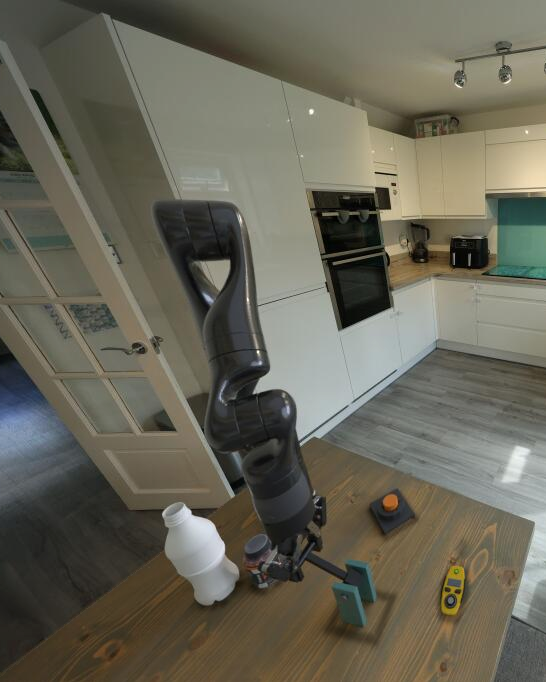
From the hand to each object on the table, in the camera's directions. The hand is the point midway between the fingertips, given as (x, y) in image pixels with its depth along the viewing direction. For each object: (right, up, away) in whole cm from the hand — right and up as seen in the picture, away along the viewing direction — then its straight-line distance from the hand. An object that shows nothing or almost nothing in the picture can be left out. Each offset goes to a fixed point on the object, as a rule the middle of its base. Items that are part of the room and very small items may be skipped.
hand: (307, 563), depth 58 cm
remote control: (+27, -10, +10) cm, 31 cm away
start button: (+9, -1, +22) cm, 24 cm away
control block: (+9, -4, +23) cm, 26 cm away
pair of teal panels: (+8, -13, +4) cm, 16 cm away
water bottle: (-22, -11, +8) cm, 26 cm away
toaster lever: (+4, -1, 0) cm, 4 cm away
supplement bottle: (-14, -10, +10) cm, 20 cm away
